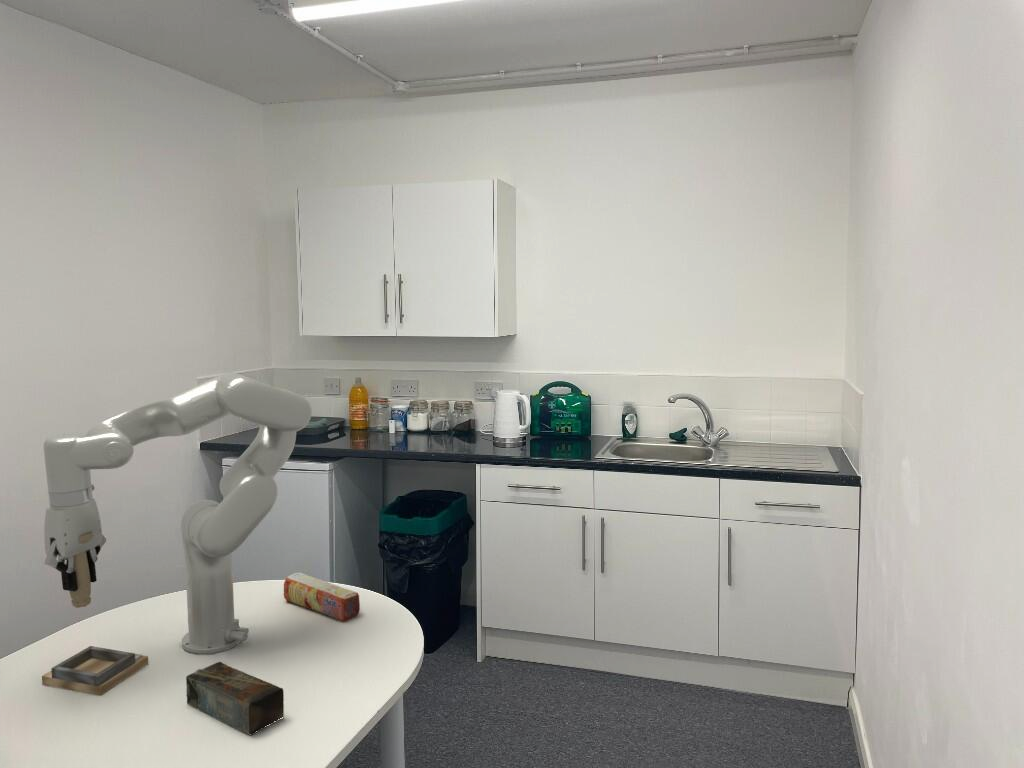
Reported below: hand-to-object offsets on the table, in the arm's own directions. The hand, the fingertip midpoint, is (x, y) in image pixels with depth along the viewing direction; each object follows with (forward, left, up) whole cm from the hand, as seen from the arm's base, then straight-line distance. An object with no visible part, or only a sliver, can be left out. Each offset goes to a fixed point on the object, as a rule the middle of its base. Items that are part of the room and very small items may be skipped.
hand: (79, 584), depth 164 cm
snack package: (-29, -43, -19) cm, 55 cm away
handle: (0, 0, -4) cm, 4 cm away
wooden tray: (-2, 0, -19) cm, 19 cm away
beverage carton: (-37, +3, -19) cm, 42 cm away
